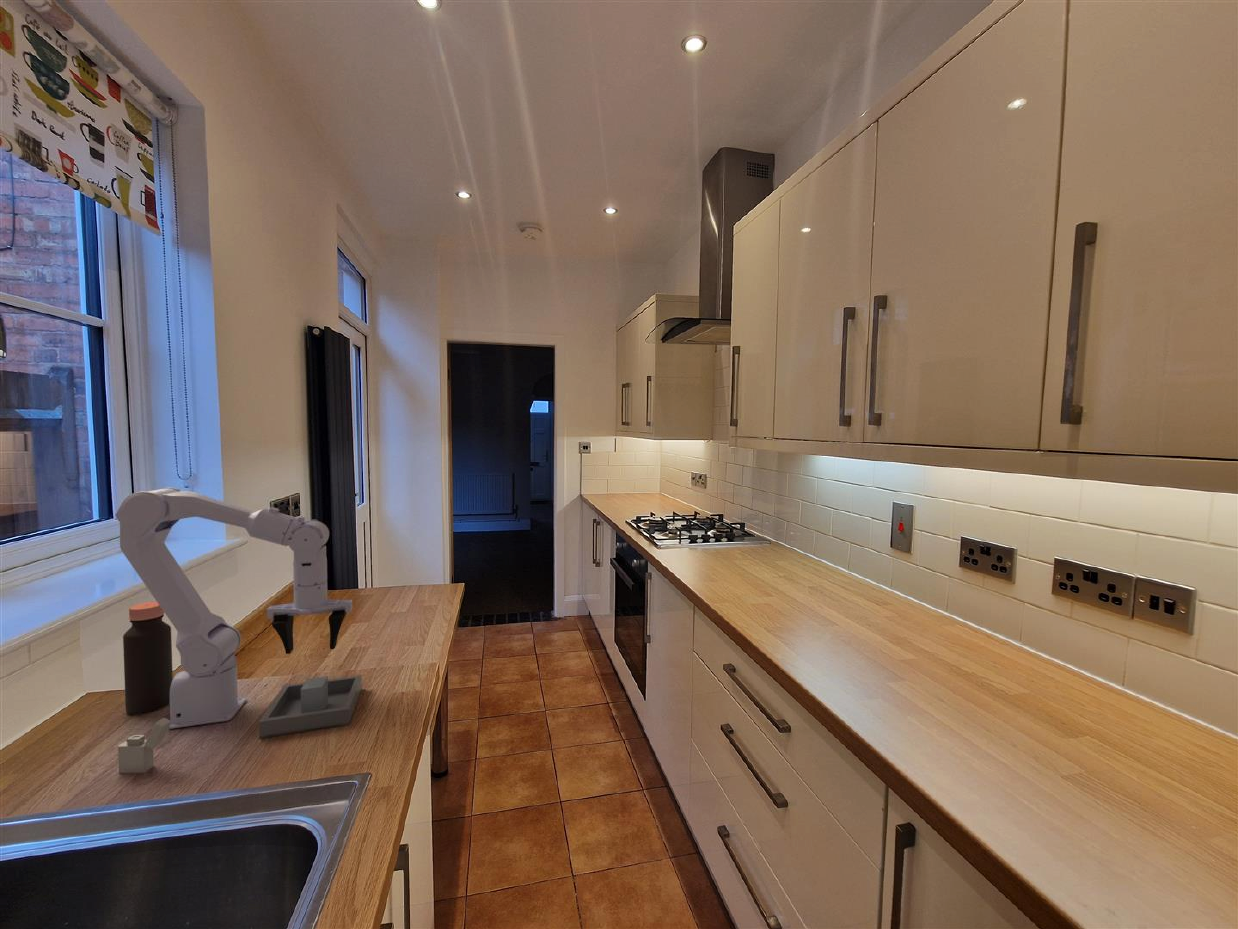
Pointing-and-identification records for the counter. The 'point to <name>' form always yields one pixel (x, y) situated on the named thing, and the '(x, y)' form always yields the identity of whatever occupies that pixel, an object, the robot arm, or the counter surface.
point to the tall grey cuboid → (314, 694)
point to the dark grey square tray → (290, 720)
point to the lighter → (141, 749)
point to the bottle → (147, 660)
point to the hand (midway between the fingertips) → (311, 649)
